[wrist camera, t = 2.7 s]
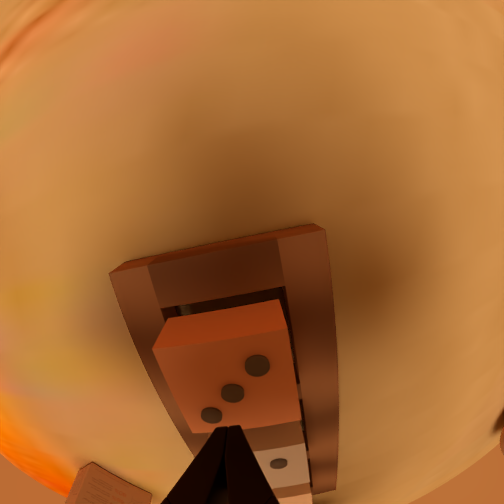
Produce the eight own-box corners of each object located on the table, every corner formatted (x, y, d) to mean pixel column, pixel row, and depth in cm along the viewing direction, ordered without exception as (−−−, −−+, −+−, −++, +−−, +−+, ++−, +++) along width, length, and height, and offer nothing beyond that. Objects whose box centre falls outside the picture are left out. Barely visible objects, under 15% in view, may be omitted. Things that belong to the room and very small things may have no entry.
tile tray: (331, 474, 19) (335, 489, 17) (230, 489, 19) (230, 505, 17) (313, 223, 13) (325, 229, 11) (124, 262, 14) (108, 273, 12)
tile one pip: (308, 489, 16) (313, 514, 13) (251, 498, 16) (252, 522, 13) (305, 465, 15) (311, 495, 12) (237, 475, 15) (237, 504, 12)
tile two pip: (303, 453, 14) (310, 484, 12) (230, 463, 15) (230, 494, 12) (297, 409, 13) (305, 446, 11) (209, 421, 13) (205, 458, 11)
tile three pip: (293, 384, 13) (302, 422, 10) (199, 398, 13) (192, 436, 10) (278, 298, 12) (288, 330, 9) (168, 318, 12) (150, 351, 9)
